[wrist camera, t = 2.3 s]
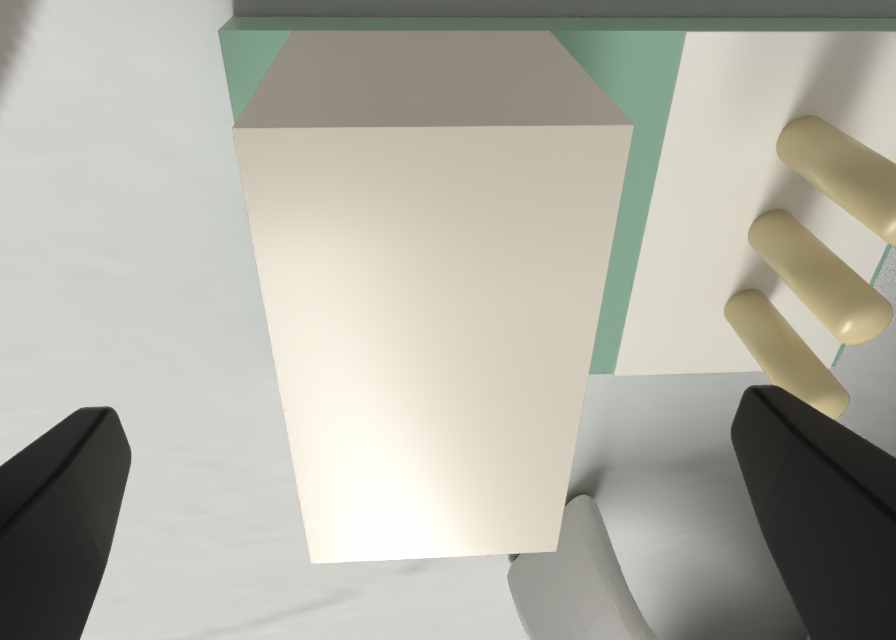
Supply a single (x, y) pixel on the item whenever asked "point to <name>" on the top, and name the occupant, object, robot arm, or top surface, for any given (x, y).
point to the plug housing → (431, 279)
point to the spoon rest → (577, 584)
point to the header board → (716, 182)
